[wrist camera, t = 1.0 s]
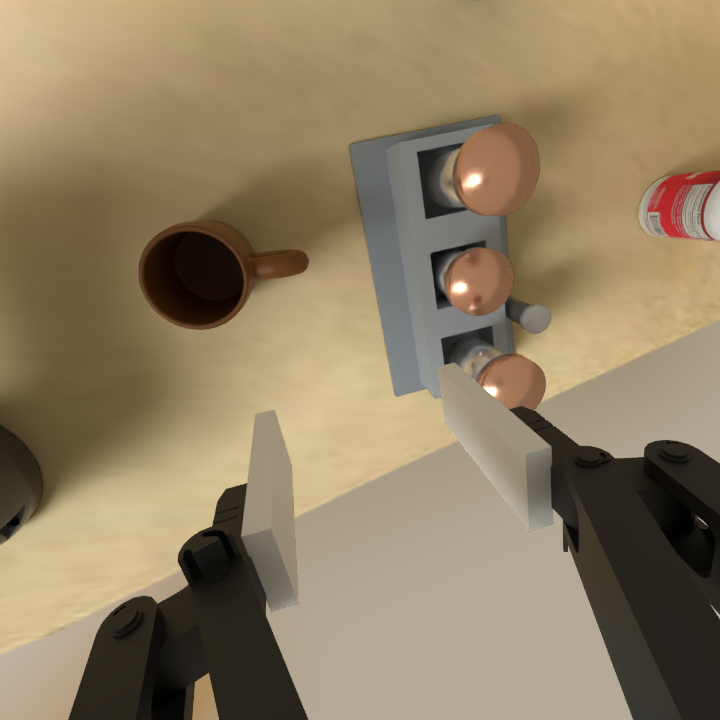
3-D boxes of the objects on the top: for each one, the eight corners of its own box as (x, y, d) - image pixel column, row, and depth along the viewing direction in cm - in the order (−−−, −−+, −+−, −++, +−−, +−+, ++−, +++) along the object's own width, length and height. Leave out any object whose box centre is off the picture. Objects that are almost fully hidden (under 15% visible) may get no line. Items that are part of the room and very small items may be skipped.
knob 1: (423, 221, 35) (465, 223, 27) (414, 150, 33) (456, 132, 25) (483, 207, 35) (541, 206, 27) (477, 138, 33) (538, 115, 25)
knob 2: (445, 387, 41) (484, 429, 33) (438, 337, 39) (479, 369, 31) (496, 374, 41) (546, 412, 33) (492, 323, 39) (544, 351, 31)
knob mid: (421, 302, 41) (454, 323, 33) (413, 248, 39) (446, 257, 32) (471, 289, 42) (515, 307, 34) (466, 235, 40) (511, 242, 32)
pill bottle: (697, 184, 43) (825, 176, 33) (670, 242, 45) (784, 252, 35) (651, 167, 42) (772, 153, 32) (626, 228, 44) (732, 234, 33)
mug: (297, 208, 37) (302, 208, 28) (310, 291, 40) (318, 314, 31) (159, 225, 35) (119, 230, 27) (182, 310, 38) (154, 340, 29)
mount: (394, 394, 45) (407, 415, 41) (348, 145, 36) (358, 135, 31) (511, 363, 47) (537, 380, 42) (496, 116, 37) (527, 102, 33)
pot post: (489, 318, 43) (525, 336, 37) (487, 294, 43) (523, 309, 36) (512, 312, 44) (551, 329, 37) (510, 289, 43) (550, 302, 36)
